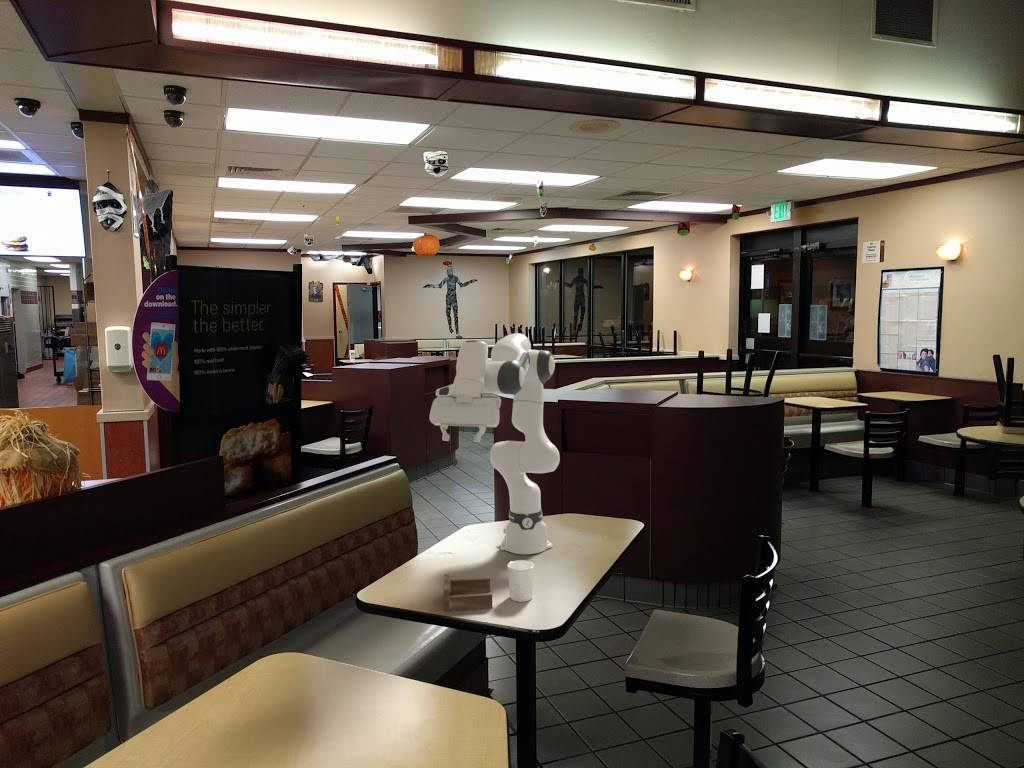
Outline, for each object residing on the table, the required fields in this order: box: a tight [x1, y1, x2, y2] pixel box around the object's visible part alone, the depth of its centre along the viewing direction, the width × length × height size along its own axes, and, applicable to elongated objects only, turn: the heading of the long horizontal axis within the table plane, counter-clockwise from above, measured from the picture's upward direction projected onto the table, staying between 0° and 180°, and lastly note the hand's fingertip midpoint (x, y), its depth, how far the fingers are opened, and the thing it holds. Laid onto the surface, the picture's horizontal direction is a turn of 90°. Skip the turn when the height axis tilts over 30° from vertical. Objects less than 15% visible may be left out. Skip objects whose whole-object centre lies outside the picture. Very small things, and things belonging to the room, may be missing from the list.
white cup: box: [506, 559, 535, 603], centre depth 200 cm, size 8×8×10 cm
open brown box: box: [443, 573, 494, 612], centre depth 199 cm, size 13×14×6 cm
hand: (460, 441), depth 188 cm, fingers open, 8 cm apart
